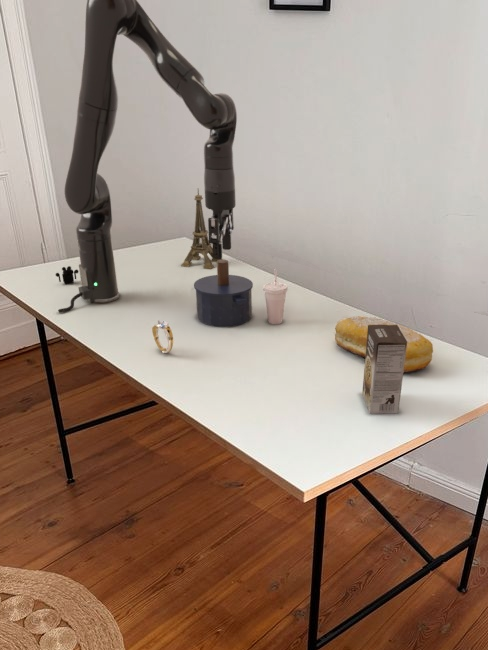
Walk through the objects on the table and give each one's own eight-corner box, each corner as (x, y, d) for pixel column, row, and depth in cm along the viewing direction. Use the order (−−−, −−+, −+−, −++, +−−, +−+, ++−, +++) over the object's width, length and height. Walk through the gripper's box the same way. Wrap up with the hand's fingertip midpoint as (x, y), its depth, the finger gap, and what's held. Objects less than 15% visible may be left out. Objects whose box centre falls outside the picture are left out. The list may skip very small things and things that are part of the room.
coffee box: (360, 394, 150) (367, 324, 141) (389, 393, 150) (397, 323, 141) (368, 414, 142) (375, 341, 133) (399, 413, 143) (408, 341, 134)
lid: (211, 302, 173) (210, 274, 169) (184, 285, 184) (182, 258, 180) (263, 291, 180) (263, 264, 176) (234, 275, 191) (233, 249, 187)
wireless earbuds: (79, 280, 210) (76, 264, 207) (82, 282, 208) (79, 266, 205) (56, 284, 206) (53, 267, 203) (59, 286, 205) (56, 270, 202)
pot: (218, 334, 176) (217, 302, 171) (184, 310, 190) (181, 280, 185) (266, 323, 183) (266, 292, 178) (229, 300, 196) (229, 271, 192)
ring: (177, 355, 165) (174, 324, 160) (165, 359, 163) (162, 327, 159) (163, 346, 170) (160, 315, 165) (151, 349, 168) (148, 318, 163)
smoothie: (288, 317, 186) (289, 266, 178) (285, 326, 181) (286, 274, 173) (264, 316, 187) (264, 265, 179) (261, 325, 182) (261, 273, 174)
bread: (407, 382, 155) (411, 349, 150) (321, 347, 170) (323, 316, 166) (441, 364, 163) (446, 333, 158) (356, 332, 178) (359, 303, 174)
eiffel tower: (180, 265, 223) (175, 183, 208) (192, 256, 231) (188, 177, 217) (211, 269, 220) (207, 186, 206) (222, 259, 229) (219, 179, 214)
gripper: (213, 180, 174) (216, 245, 183) (196, 192, 162) (200, 261, 172) (241, 182, 173) (243, 247, 182) (226, 194, 161) (229, 263, 170)
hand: (222, 254), depth 177 cm, fingers open, 8 cm apart
